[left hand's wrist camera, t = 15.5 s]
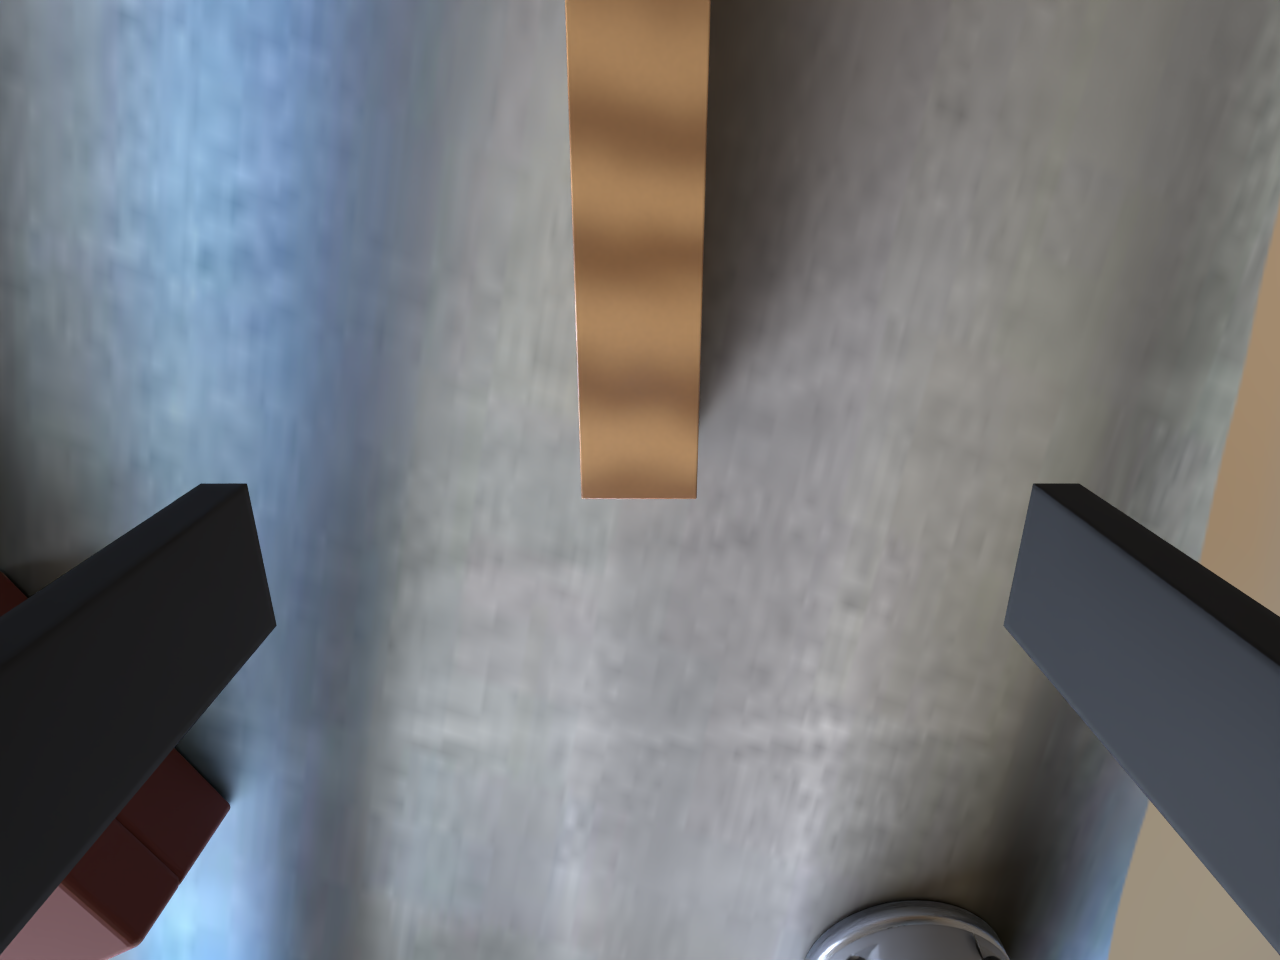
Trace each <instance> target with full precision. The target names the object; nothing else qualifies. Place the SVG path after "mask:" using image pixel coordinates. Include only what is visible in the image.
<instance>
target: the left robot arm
mask: <svg viewBox="0 0 1280 960" xmlns="http://www.w3.org/2000/svg"><path fill="white" fill-rule="evenodd" d="M275 627H276V621H275V616H274V611H273V607H272V602H271V597H270V592H269V587H268V583H267V578H266V573H265V568H264V564H263V559H262V554H261V549H260V544H259V540H258V535H257V530H256V525H255V521H254V516H253V511H252V506H251V501H250V497H249V492H248V487H247V484H200V485H198V486H197V487H195V488H194V489H192V490H191V491H189V492H188V493H186V494H185V495H183V496H182V497H180V498H179V499H177V500H176V501H174V502H172V503H171V504H169V505H168V506H166V507H165V508H163V509H162V510H160V511H159V512H157V513H156V514H154V515H153V516H151V517H150V518H148V519H147V520H145V521H144V522H142V523H141V524H139V525H138V526H136V527H135V528H133V529H132V530H130V531H129V532H127V533H126V534H124V535H123V536H121V537H120V538H118V539H117V540H115V541H114V542H112V543H111V544H109V545H108V546H106V547H105V548H103V549H102V550H100V551H99V552H97V553H96V554H94V555H93V556H91V557H90V558H88V559H87V560H85V561H84V562H82V563H81V564H79V565H78V566H76V567H75V568H73V569H72V570H70V571H69V572H67V573H66V574H64V575H63V576H61V577H60V578H58V579H57V580H55V581H54V582H52V583H51V584H49V585H48V586H46V587H45V588H43V589H42V590H40V591H39V592H37V593H36V594H34V595H32V596H31V597H29V598H28V599H26V600H25V601H23V602H22V603H20V604H19V605H17V606H16V607H14V608H13V609H11V610H10V611H8V612H7V613H5V614H4V615H2V616H1V617H0V955H1V954H2V952H3V951H4V950H5V949H6V948H7V946H8V945H9V944H10V943H11V942H12V941H13V939H14V938H15V937H16V936H17V935H18V933H19V932H20V931H21V930H22V929H23V927H24V926H25V925H26V924H27V923H28V921H29V920H30V919H31V918H32V917H33V915H34V914H35V913H36V912H37V911H38V909H39V908H40V907H41V906H42V905H43V904H44V902H45V901H46V900H47V899H48V898H49V896H50V895H51V894H52V893H53V892H54V890H55V889H56V888H57V887H58V886H59V884H60V883H61V882H62V881H63V880H64V878H65V877H66V876H67V875H68V874H69V873H70V871H71V870H72V869H73V868H74V867H75V865H76V864H77V863H78V862H79V861H80V859H81V858H82V857H83V856H84V855H85V853H86V852H87V851H88V850H89V849H90V847H91V846H92V845H93V844H94V843H95V841H96V840H97V839H98V838H99V837H100V836H101V834H102V833H103V832H104V831H105V830H106V828H107V827H108V826H109V825H110V824H111V822H112V821H113V820H114V819H115V818H116V816H117V815H118V814H119V813H120V812H121V810H122V809H123V808H124V807H125V806H126V805H127V803H128V802H129V801H130V800H131V799H132V797H133V796H134V795H135V794H136V793H137V791H138V790H139V789H140V788H141V787H142V785H143V784H144V783H145V782H146V781H147V779H148V778H149V777H150V776H151V775H152V773H153V772H154V771H155V770H156V769H157V768H158V766H159V765H160V764H161V763H162V762H163V760H164V759H165V758H166V757H167V756H168V754H169V753H170V752H171V751H172V750H173V748H174V747H175V746H176V745H177V744H178V742H179V741H180V740H181V739H182V738H183V737H184V735H185V734H186V733H187V732H188V731H189V729H190V728H191V727H192V726H193V725H194V723H195V722H196V721H197V720H198V719H199V717H200V716H201V715H202V714H203V713H204V711H205V710H206V709H207V708H208V707H209V705H210V704H211V703H212V702H213V701H214V700H215V698H216V697H217V696H218V695H219V694H220V692H221V691H222V690H223V689H224V688H225V686H226V685H227V684H228V683H229V682H230V680H231V679H232V678H233V677H234V676H235V674H236V673H237V672H238V671H239V670H240V669H241V667H242V666H243V665H244V664H245V663H246V661H247V660H248V659H249V658H250V657H251V655H252V654H253V653H254V652H255V651H256V649H257V648H258V647H259V646H260V645H261V643H262V642H263V641H264V640H265V639H266V637H267V636H268V635H269V634H270V633H271V632H272V630H273V629H274V628H275ZM1004 627H1005V628H1006V629H1007V630H1008V632H1009V633H1010V634H1011V635H1012V636H1013V638H1014V639H1015V640H1016V641H1017V642H1018V643H1019V645H1020V646H1021V647H1022V648H1023V649H1024V651H1025V652H1026V653H1027V654H1028V655H1029V657H1030V658H1031V659H1032V660H1033V661H1034V663H1035V664H1036V665H1037V666H1038V667H1039V669H1040V670H1041V671H1042V672H1043V673H1044V674H1045V676H1046V677H1047V678H1048V679H1049V680H1050V682H1051V683H1052V684H1053V685H1054V686H1055V688H1056V689H1057V690H1058V691H1059V692H1060V694H1061V695H1062V696H1063V697H1064V698H1065V700H1066V701H1067V702H1068V703H1069V704H1070V705H1071V707H1072V708H1073V709H1074V710H1075V711H1076V713H1077V714H1078V715H1079V716H1080V717H1081V719H1082V720H1083V721H1084V722H1085V723H1086V725H1087V726H1088V727H1089V728H1090V729H1091V731H1092V732H1093V733H1094V734H1095V735H1096V737H1097V738H1098V739H1099V740H1100V741H1101V742H1102V744H1103V745H1104V746H1105V747H1106V748H1107V750H1108V751H1109V752H1110V753H1111V754H1112V756H1113V757H1114V758H1115V759H1116V760H1117V762H1118V763H1119V764H1120V765H1121V766H1122V768H1123V769H1124V770H1125V771H1126V772H1127V773H1128V775H1129V776H1130V777H1131V778H1132V779H1133V781H1134V782H1135V783H1136V784H1137V785H1138V787H1139V788H1140V789H1141V790H1142V791H1143V793H1144V794H1145V795H1146V796H1147V797H1148V799H1149V800H1150V801H1151V802H1152V803H1153V805H1154V806H1155V807H1156V808H1157V809H1158V810H1159V812H1160V813H1161V814H1162V815H1163V816H1164V818H1165V819H1166V820H1167V821H1168V822H1169V824H1170V825H1171V826H1172V827H1173V828H1174V830H1175V831H1176V832H1177V833H1178V834H1179V836H1180V837H1181V838H1182V839H1183V840H1184V841H1185V843H1186V844H1187V845H1188V846H1189V847H1190V849H1191V850H1192V851H1193V852H1194V853H1195V855H1196V856H1197V857H1198V858H1199V859H1200V861H1201V862H1202V863H1203V864H1204V865H1205V867H1206V868H1207V869H1208V870H1209V871H1210V873H1211V874H1212V875H1213V876H1214V877H1215V878H1216V880H1217V881H1218V882H1219V883H1220V884H1221V886H1222V887H1223V888H1224V889H1225V890H1226V892H1227V893H1228V894H1229V895H1230V896H1231V898H1232V899H1233V900H1234V901H1235V902H1236V904H1237V905H1238V906H1239V907H1240V908H1241V909H1242V911H1243V912H1244V913H1245V914H1246V915H1247V917H1248V918H1249V919H1250V920H1251V921H1252V923H1253V924H1254V925H1255V926H1256V927H1257V929H1258V930H1259V931H1260V932H1261V933H1262V935H1263V936H1264V937H1265V938H1266V939H1267V941H1268V942H1269V943H1270V944H1271V945H1272V946H1273V948H1274V949H1275V950H1276V951H1277V952H1278V954H1279V955H1280V617H1279V616H1278V615H1276V614H1274V613H1273V612H1272V611H1270V610H1269V609H1267V608H1266V607H1264V606H1263V605H1261V604H1260V603H1258V602H1257V601H1255V600H1254V599H1252V598H1251V597H1249V596H1247V595H1246V594H1244V593H1243V592H1241V591H1240V590H1238V589H1237V588H1235V587H1234V586H1232V585H1231V584H1229V583H1228V582H1226V581H1225V580H1223V579H1222V578H1220V577H1219V576H1217V575H1216V574H1214V573H1213V572H1211V571H1210V570H1208V569H1207V568H1205V567H1204V566H1202V565H1201V564H1199V563H1198V562H1196V561H1195V560H1193V559H1192V558H1190V557H1189V556H1187V555H1186V554H1184V553H1183V552H1181V551H1180V550H1178V549H1177V548H1175V547H1174V546H1172V545H1171V544H1169V543H1168V542H1166V541H1165V540H1163V539H1162V538H1160V537H1159V536H1157V535H1156V534H1154V533H1153V532H1151V531H1150V530H1148V529H1147V528H1145V527H1144V526H1142V525H1141V524H1139V523H1138V522H1136V521H1135V520H1133V519H1132V518H1130V517H1129V516H1127V515H1126V514H1124V513H1123V512H1121V511H1120V510H1118V509H1117V508H1115V507H1114V506H1112V505H1111V504H1109V503H1108V502H1106V501H1104V500H1103V499H1101V498H1100V497H1098V496H1097V495H1095V494H1094V493H1092V492H1091V491H1089V490H1088V489H1086V488H1085V487H1083V486H1082V485H1080V484H1033V487H1032V492H1031V497H1030V501H1029V506H1028V511H1027V516H1026V521H1025V525H1024V530H1023V535H1022V540H1021V544H1020V549H1019V554H1018V559H1017V564H1016V568H1015V573H1014V578H1013V583H1012V587H1011V592H1010V597H1009V602H1008V606H1007V611H1006V616H1005V621H1004ZM805 960H1010V959H1009V957H1008V955H1007V953H1006V951H1005V949H1004V947H1003V945H1002V943H1001V941H1000V939H999V937H998V935H997V934H996V933H995V931H994V930H993V929H992V928H991V927H990V926H989V925H988V924H987V923H986V922H985V921H983V920H982V919H981V918H979V917H978V916H976V915H974V914H973V913H971V912H969V911H967V910H964V909H962V908H959V907H956V906H953V905H949V904H945V903H940V902H933V901H917V900H915V901H899V902H892V903H886V904H882V905H878V906H874V907H871V908H868V909H865V910H862V911H860V912H857V913H855V914H853V915H851V916H849V917H847V918H845V919H843V920H841V921H840V922H838V923H837V924H835V925H834V926H832V927H831V928H830V929H828V930H827V931H826V932H825V933H824V934H823V935H822V936H821V937H820V938H819V939H818V940H817V941H816V942H815V943H814V945H813V946H812V947H811V949H810V950H809V952H808V954H807V956H806V958H805Z"/></svg>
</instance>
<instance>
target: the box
mask: <svg viewBox="0 0 1280 960" xmlns="http://www.w3.org/2000/svg"><path fill="white" fill-rule="evenodd" d="M26 599H28V598H27V597H26V596H25V595H24V594H23V593H22V592H21V591H20V590H19V589H18V588H17V587H16V586H15V585H14V584H13V583H12V582H11V581H10V580H9V579H8V578H7V576H6V575H5V574H4V573H2V572H1V571H0V617H1V616H2V615H4V614H5V613H7V612H8V611H10V610H11V609H13V608H14V607H16V606H17V605H19V604H20V603H22V602H23V601H25V600H26ZM229 810H230V805H229V803H228V802H227V801H226V800H225V799H224V798H223V797H222V796H221V795H220V794H219V793H218V792H217V791H216V790H215V789H214V788H213V787H212V786H211V785H210V784H209V783H208V782H207V781H206V780H205V779H204V778H203V777H202V775H201V774H200V773H199V772H198V771H197V770H196V769H195V768H194V767H193V766H192V765H191V764H190V763H189V762H188V761H187V760H186V759H185V758H184V757H183V756H182V755H181V754H180V753H179V752H178V751H177V750H176V749H175V748H173V750H172V751H171V752H170V753H169V754H168V756H167V757H166V758H165V759H164V760H163V762H162V763H161V764H160V765H159V766H158V768H157V769H156V770H155V771H154V772H153V773H152V775H151V776H150V777H149V778H148V779H147V781H146V782H145V783H144V784H143V785H142V787H141V788H140V789H139V790H138V791H137V793H136V794H135V795H134V796H133V797H132V799H131V800H130V801H129V802H128V803H127V805H126V806H125V807H124V808H123V809H122V810H121V812H120V813H119V814H118V815H117V816H116V818H115V819H114V820H113V821H112V822H111V824H110V825H109V826H108V827H107V828H106V830H105V831H104V832H103V833H102V834H101V836H100V837H99V838H98V839H97V840H96V841H95V843H94V844H93V845H92V846H91V847H90V849H89V850H88V851H87V852H86V853H85V855H84V856H83V857H82V858H81V859H80V861H79V862H78V863H77V864H76V865H75V867H74V868H73V869H72V870H71V871H70V873H69V874H68V875H67V876H66V877H65V878H64V880H63V881H62V882H61V883H60V884H59V886H58V887H57V888H56V889H55V890H54V892H53V893H52V894H51V895H50V896H49V898H48V899H47V900H46V901H45V902H44V904H43V905H42V906H41V907H40V908H39V909H38V911H37V912H36V913H35V914H34V915H33V917H32V918H31V919H30V920H29V921H28V923H27V924H26V925H25V926H24V927H23V929H22V930H21V931H20V932H19V933H18V935H17V936H16V937H15V938H14V939H13V941H12V942H11V943H10V944H9V945H8V946H7V948H6V949H5V950H4V951H3V952H2V954H1V955H0V960H108V959H110V958H112V957H114V956H117V955H119V954H121V953H123V952H125V951H128V950H130V949H132V948H134V947H137V946H138V945H139V944H140V943H141V942H142V941H143V939H144V938H145V936H146V935H147V933H148V932H149V930H150V929H151V927H152V926H153V924H154V923H155V921H156V920H157V918H158V917H159V915H160V914H161V912H162V911H163V909H164V908H165V906H166V905H167V903H168V902H169V900H170V899H171V897H172V896H173V894H174V893H175V891H176V890H177V888H178V886H179V885H180V883H181V882H182V881H183V879H184V878H185V876H186V875H187V873H188V871H189V870H190V868H191V867H192V865H193V864H194V862H195V861H196V859H197V858H198V856H199V855H200V853H201V852H202V850H203V849H204V847H205V846H206V844H207V843H208V841H209V840H210V838H211V837H212V835H213V834H214V832H215V831H216V829H217V828H218V826H219V825H220V823H221V822H222V820H223V819H224V817H225V816H226V814H227V813H228V811H229Z"/></svg>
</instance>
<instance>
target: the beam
mask: <svg viewBox="0 0 1280 960" xmlns="http://www.w3.org/2000/svg"><path fill="white" fill-rule="evenodd" d="M710 9H711V0H565V14H566V44H567V74H568V105H569V135H570V165H571V195H572V225H573V256H574V286H575V316H576V346H577V376H578V407H579V437H580V467H581V497H582V499H696V498H697V466H698V431H699V396H700V361H701V326H702V291H703V255H704V220H705V185H706V150H707V115H708V80H709V45H710Z"/></svg>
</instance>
